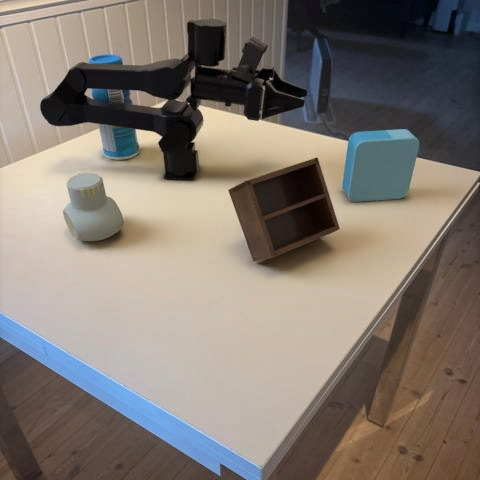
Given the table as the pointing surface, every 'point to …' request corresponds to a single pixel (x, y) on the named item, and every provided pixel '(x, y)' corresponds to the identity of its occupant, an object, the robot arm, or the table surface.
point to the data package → (379, 165)
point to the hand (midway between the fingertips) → (305, 98)
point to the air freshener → (91, 209)
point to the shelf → (284, 209)
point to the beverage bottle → (115, 138)
